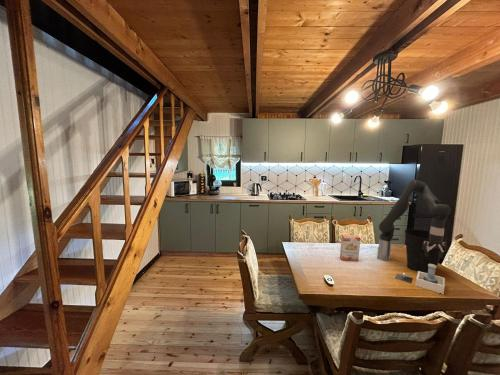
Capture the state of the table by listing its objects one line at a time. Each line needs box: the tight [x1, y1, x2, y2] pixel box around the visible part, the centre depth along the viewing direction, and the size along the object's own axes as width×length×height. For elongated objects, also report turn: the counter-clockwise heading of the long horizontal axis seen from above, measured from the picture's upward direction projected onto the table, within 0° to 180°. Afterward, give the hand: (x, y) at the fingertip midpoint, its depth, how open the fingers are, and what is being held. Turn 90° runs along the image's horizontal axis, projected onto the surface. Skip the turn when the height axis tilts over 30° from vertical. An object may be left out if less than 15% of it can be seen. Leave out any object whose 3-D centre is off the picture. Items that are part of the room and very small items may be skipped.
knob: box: [423, 264, 438, 284], centre depth 165 cm, size 6×6×14 cm
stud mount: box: [394, 272, 414, 284], centre depth 174 cm, size 10×10×5 cm
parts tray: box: [415, 271, 446, 295], centre depth 165 cm, size 15×15×6 cm
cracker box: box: [339, 234, 361, 262], centre depth 205 cm, size 14×6×21 cm, turn 84°
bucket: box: [404, 227, 448, 273], centre depth 190 cm, size 27×28×30 cm
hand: (433, 256), depth 163 cm, fingers open, 8 cm apart
